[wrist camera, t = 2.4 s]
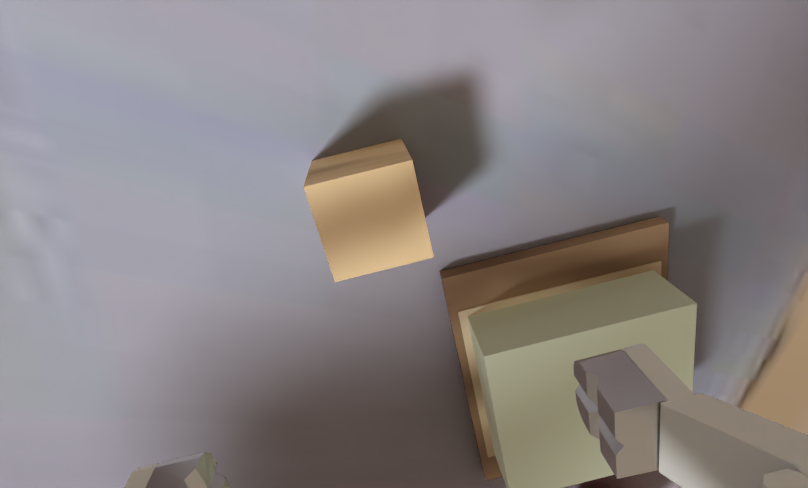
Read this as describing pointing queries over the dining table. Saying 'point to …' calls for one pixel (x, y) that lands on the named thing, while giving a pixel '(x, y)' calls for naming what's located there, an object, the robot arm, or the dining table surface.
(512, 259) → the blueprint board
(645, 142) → the dining table surface
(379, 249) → the oak cube
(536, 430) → the plinth block
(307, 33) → the dining table surface
